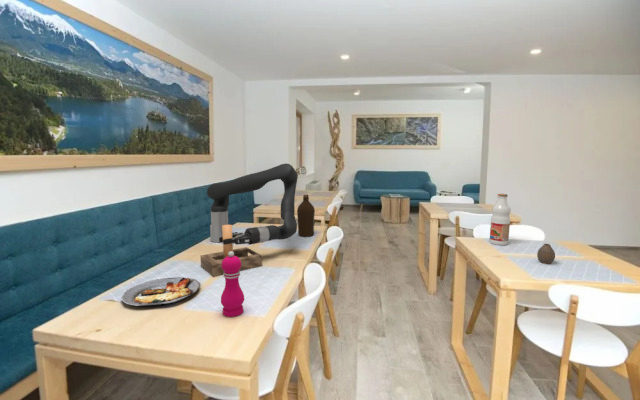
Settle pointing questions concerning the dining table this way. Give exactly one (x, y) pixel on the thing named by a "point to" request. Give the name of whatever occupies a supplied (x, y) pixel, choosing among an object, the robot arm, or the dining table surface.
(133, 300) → the food plate
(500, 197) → the fruit juice
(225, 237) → the peg
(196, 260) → the dining table surface
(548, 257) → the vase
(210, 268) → the keyhole base
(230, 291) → the pepper mill
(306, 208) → the olive oil
